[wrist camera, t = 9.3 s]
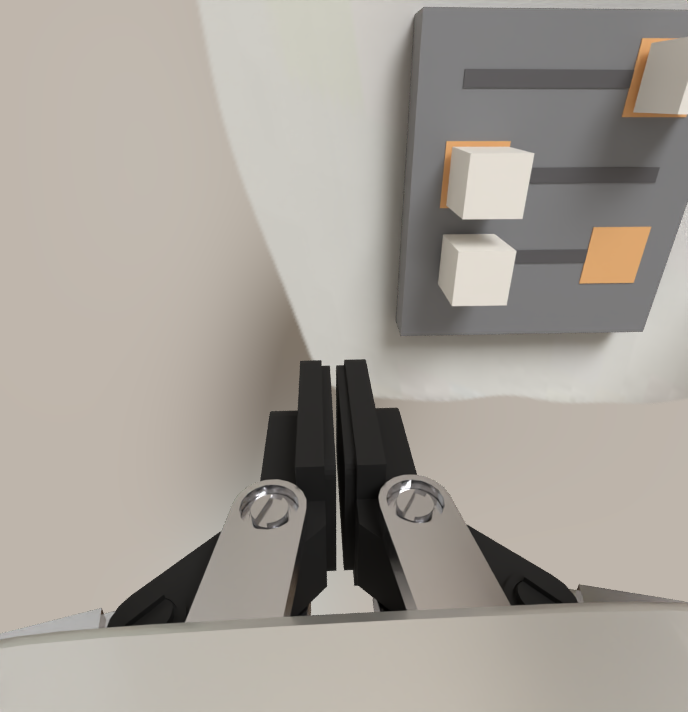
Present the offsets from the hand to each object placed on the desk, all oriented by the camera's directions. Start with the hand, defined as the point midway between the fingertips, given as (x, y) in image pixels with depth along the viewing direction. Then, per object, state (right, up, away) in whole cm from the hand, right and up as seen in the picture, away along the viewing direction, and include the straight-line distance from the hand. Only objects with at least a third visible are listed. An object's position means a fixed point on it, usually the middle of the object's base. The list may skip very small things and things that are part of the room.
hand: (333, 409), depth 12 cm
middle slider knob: (+7, +10, +10) cm, 15 cm away
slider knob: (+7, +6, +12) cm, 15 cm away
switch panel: (+10, +11, +12) cm, 19 cm away
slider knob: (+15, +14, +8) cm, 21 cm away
